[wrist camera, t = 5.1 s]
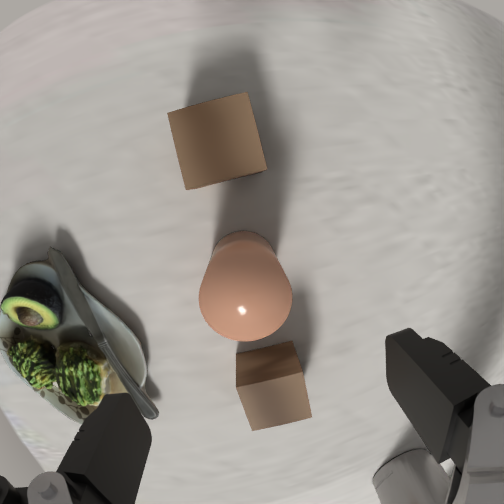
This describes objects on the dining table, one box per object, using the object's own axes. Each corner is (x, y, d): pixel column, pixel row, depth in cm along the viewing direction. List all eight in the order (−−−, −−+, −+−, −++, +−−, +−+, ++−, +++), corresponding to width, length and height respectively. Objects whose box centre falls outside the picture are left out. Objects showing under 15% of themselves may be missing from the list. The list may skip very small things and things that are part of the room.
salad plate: (207, 359, 26) (203, 390, 22) (120, 444, 29) (110, 471, 24) (45, 222, 23) (15, 230, 18) (-5, 341, 25) (-26, 359, 21)
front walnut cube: (245, 110, 22) (247, 91, 17) (261, 172, 23) (267, 169, 18) (181, 126, 22) (167, 112, 17) (197, 188, 23) (186, 190, 18)
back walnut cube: (292, 340, 26) (302, 371, 21) (301, 383, 27) (312, 417, 22) (236, 353, 26) (236, 387, 21) (249, 395, 27) (252, 430, 22)
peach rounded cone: (283, 240, 24) (304, 268, 16) (264, 299, 25) (276, 349, 17) (220, 223, 23) (211, 243, 16) (204, 284, 24) (190, 329, 17)
